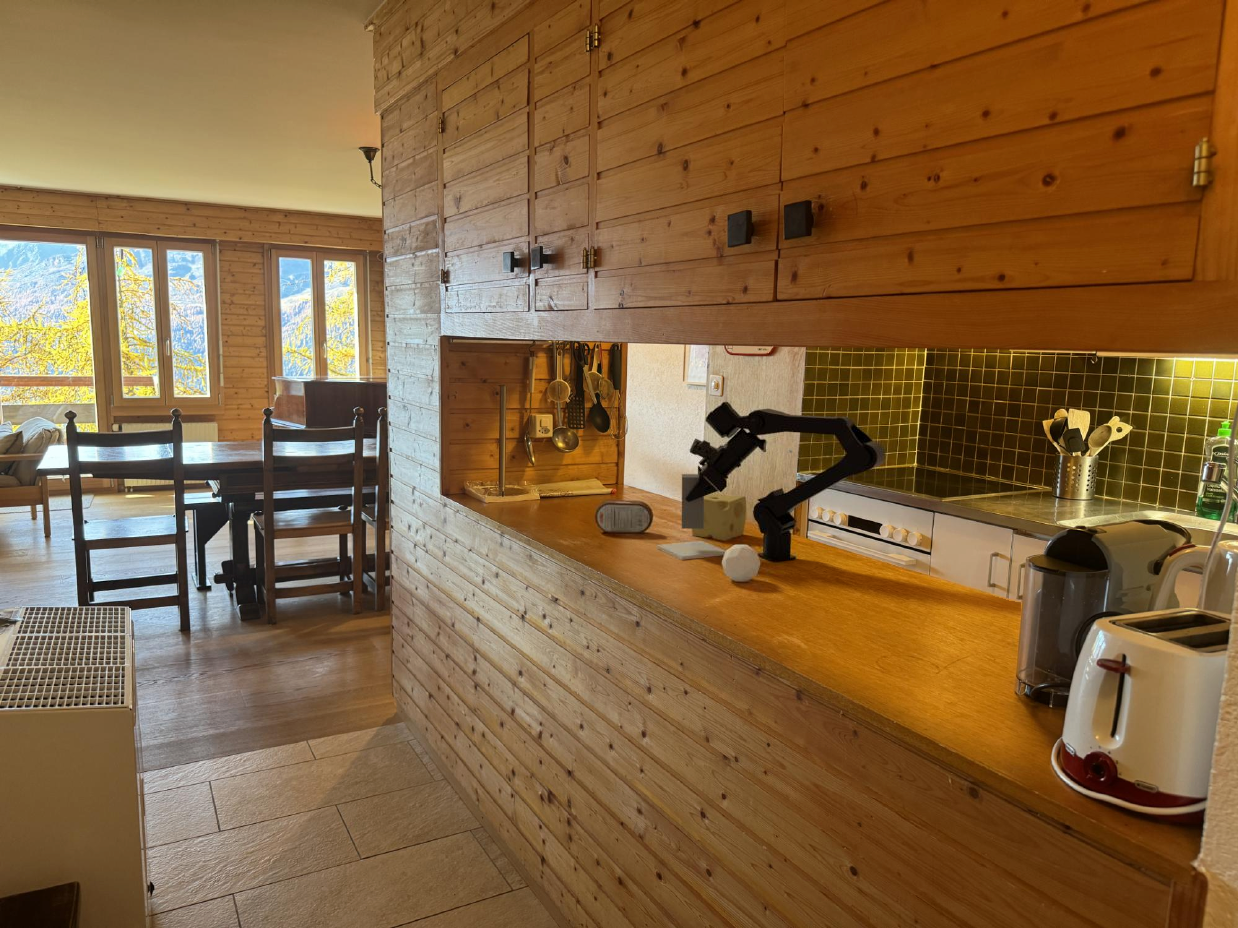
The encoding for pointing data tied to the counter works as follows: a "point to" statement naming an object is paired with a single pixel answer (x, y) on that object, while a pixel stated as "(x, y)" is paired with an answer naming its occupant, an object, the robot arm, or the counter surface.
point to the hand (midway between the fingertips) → (686, 498)
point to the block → (691, 504)
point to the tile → (691, 550)
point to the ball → (741, 563)
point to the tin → (623, 516)
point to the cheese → (723, 517)
